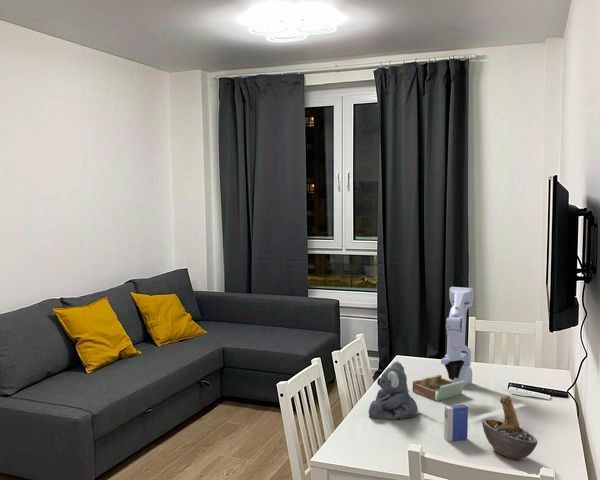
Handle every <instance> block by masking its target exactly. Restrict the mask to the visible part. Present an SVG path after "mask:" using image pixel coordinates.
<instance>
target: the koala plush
mask: <svg viewBox="0 0 600 480" xmlns="http://www.w3.org/2000/svg"><path fill="white" fill-rule="evenodd" d="M407 381H408V379H407V375H406V372H405V367H404V366H403V364H402V363H401V362H400V361H399V360H397V361H394V362H391V365H390V366H389V367H388V368H387V369H386V370H385V371H384V372H383V373H382V375H381V376H380V377H378V379H377V382H376V383H377V385H378V386H379V387H380V389H379V390H377V391H378V392H377V393H376V397H375V400H372V401H371V402H370V404H369V408H368V415H369V417H372V418H374V419H381V420H391V421H397V419H400V420H402V419H405V418H414V417H415V416H416V415H417V413H418V409H419V408H418V405H417V403H416V401H415V399H414V398H413V396H411V395H410V393H409V391H408V392H407V388H406V386H407V387H408V383H407Z"/></svg>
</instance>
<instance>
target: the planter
mask: <svg viewBox="0 0 600 480" xmlns="http://www.w3.org/2000/svg"><path fill="white" fill-rule="evenodd" d="M499 402H500V404H501V405H502V409H503V414H504V415H503V416H504V419H503V421H501V420H496V419H491V418H482V420H481V422H482V428H483V432H484V435H485V437H486V439H487V441H488V443H489V444H490V445H491V446H492V449H493V450H494V451H495V452H496V453H498V454H500V456H503V457H506V458H508V459H512V460H519V461H520V460H523V458H524V459H525V458H527V457H529V456H530V455H531V454H532V453H533V452H534V450H535V448H536V447H537V445H538V442H539V441H538V439H537V438H536V437H535V436H534V435H533V434H532V433H530V432H529V431H527V430H525V429H523V428H522V427H520V423H519V420H518V416H517V412H516V410H515V407H514V405H513V402H512V399H511V397H510V395H507V394H506V395H503V396H501V398H500V399H499Z"/></svg>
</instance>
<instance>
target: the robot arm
mask: <svg viewBox="0 0 600 480" xmlns="http://www.w3.org/2000/svg"><path fill="white" fill-rule="evenodd" d="M448 297H449V301H450V304H451V308H450V310H449V315H448V317H447V318H446V323H445V328H446V336H447V337H446V338H447V339H446V340H447V341H446V342H447V343H446V354H445V355H444V357H443V358H441V359H440V364H441V365H444V367H445V369H446V372H447V376H448V380H449V381H452V382H458V381H462V380H464V381H466V382H465V385H464V387H465V386H468V385H469V384H473V369H472V367H471V364H472V361H471V360H472V350H471V349H470V347H469V346H468V345H466V328H467V327H466V325H467V312H468V310H469V308H470V307H472V306H473V305H474V304H473V303H474V302H473V301H474V288H473V287H459V286H451V287H449V296H448Z"/></svg>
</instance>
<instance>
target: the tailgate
mask: <svg viewBox="0 0 600 480" xmlns="http://www.w3.org/2000/svg"><path fill="white" fill-rule="evenodd" d="M465 382H466V381H464V380H462V381H458V382H454V383H451V384H447V385H443V386H439V389H438V391H437V394H436V398H435V400H436V401H441V400H445V399H448V398H452V397H455V396H460V395H462V393H463V391H464V387H465V386H466V385H465ZM464 385H465V386H464Z"/></svg>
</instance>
